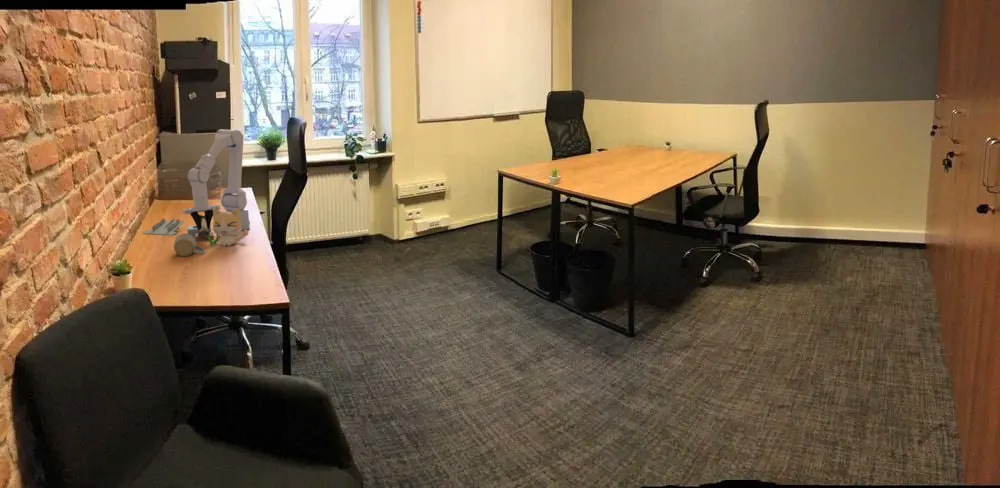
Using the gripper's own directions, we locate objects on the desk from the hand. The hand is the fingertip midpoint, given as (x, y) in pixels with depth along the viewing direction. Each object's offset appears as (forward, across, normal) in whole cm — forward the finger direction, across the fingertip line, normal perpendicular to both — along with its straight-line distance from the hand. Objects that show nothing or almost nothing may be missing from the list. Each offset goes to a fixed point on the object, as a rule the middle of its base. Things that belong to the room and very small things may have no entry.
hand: (203, 228), depth 294 cm
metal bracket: (+5, +8, -25) cm, 26 cm away
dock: (+4, -1, -9) cm, 10 cm away
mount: (+4, 0, 0) cm, 4 cm away
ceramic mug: (+4, +13, +21) cm, 25 cm away
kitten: (+5, -4, +16) cm, 17 cm away
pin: (+3, 0, 0) cm, 3 cm away
